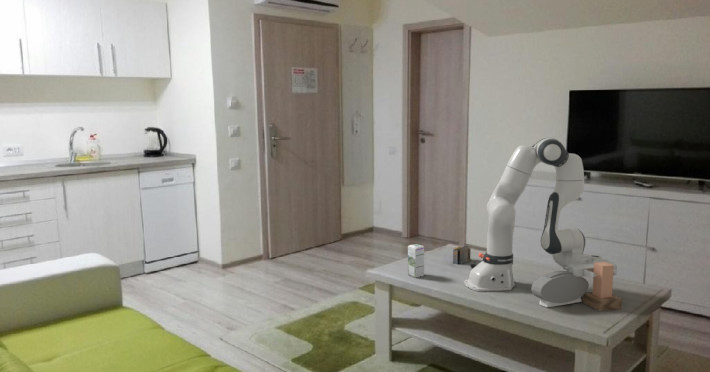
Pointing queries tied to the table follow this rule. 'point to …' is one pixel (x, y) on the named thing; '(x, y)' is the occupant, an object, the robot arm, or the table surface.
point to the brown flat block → (461, 254)
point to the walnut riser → (602, 302)
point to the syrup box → (416, 260)
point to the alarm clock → (559, 288)
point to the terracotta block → (603, 279)
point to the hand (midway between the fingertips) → (605, 274)
